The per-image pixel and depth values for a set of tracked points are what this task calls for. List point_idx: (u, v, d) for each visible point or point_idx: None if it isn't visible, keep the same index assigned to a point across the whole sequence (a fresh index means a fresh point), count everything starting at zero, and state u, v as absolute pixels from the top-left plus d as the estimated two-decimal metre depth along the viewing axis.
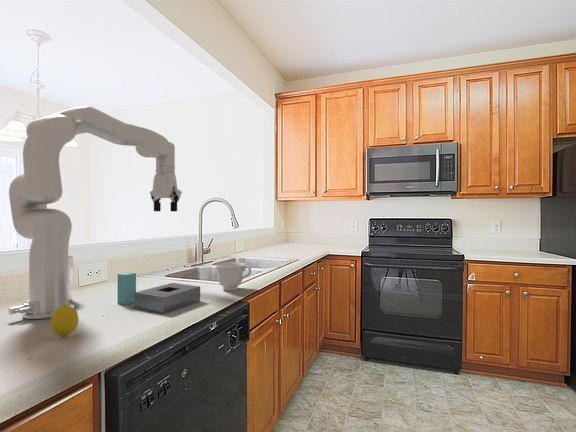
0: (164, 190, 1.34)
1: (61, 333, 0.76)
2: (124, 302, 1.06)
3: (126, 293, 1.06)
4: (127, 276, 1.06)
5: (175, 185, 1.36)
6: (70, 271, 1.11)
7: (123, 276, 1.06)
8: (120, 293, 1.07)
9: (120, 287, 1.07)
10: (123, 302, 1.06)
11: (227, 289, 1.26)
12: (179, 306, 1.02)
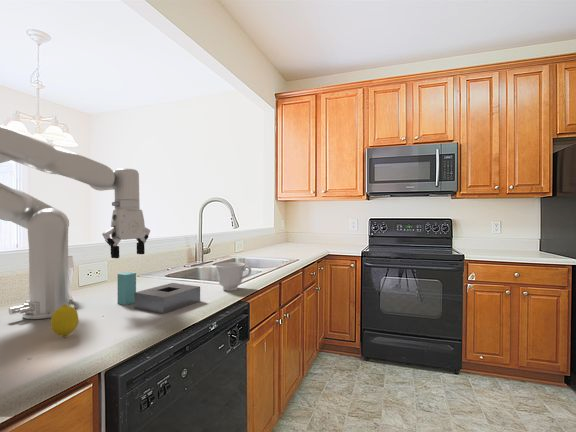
0: (139, 230, 1.09)
1: (61, 333, 0.76)
2: (124, 302, 1.06)
3: (126, 293, 1.06)
4: (127, 276, 1.06)
5: None
6: (70, 271, 1.11)
7: (123, 276, 1.06)
8: (120, 293, 1.07)
9: (120, 287, 1.07)
10: (123, 302, 1.06)
11: (227, 289, 1.26)
12: (179, 306, 1.02)
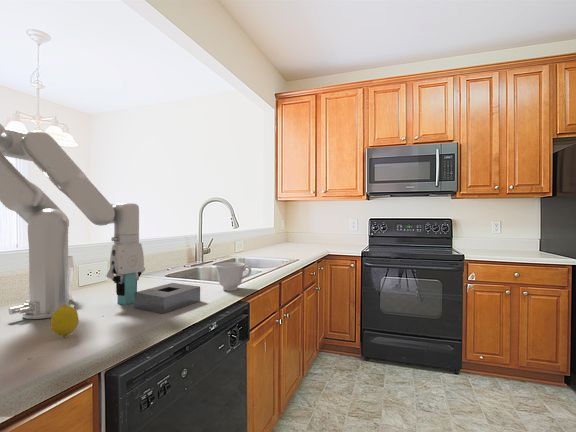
0: (138, 264, 1.09)
1: (61, 333, 0.76)
2: (124, 302, 1.06)
3: (126, 293, 1.06)
4: (127, 276, 1.06)
5: None
6: (70, 271, 1.11)
7: None
8: None
9: None
10: (123, 302, 1.06)
11: (227, 289, 1.26)
12: (179, 306, 1.02)
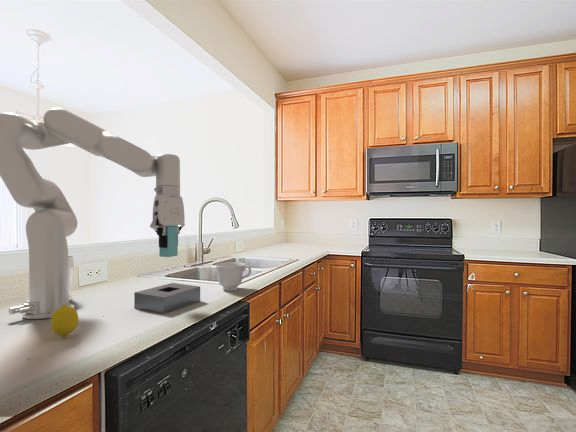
0: (179, 217, 1.07)
1: (61, 333, 0.76)
2: (167, 254, 1.04)
3: (169, 245, 1.04)
4: (169, 228, 1.05)
5: None
6: (70, 271, 1.11)
7: None
8: None
9: None
10: (166, 254, 1.04)
11: (227, 289, 1.26)
12: (179, 306, 1.02)
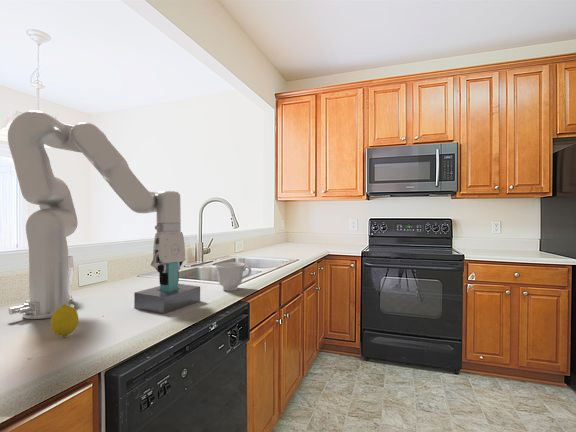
0: (180, 253, 1.08)
1: (61, 333, 0.76)
2: (167, 291, 1.04)
3: (169, 282, 1.04)
4: (170, 265, 1.05)
5: None
6: (70, 271, 1.11)
7: None
8: None
9: None
10: (166, 291, 1.05)
11: (227, 289, 1.26)
12: (179, 306, 1.02)
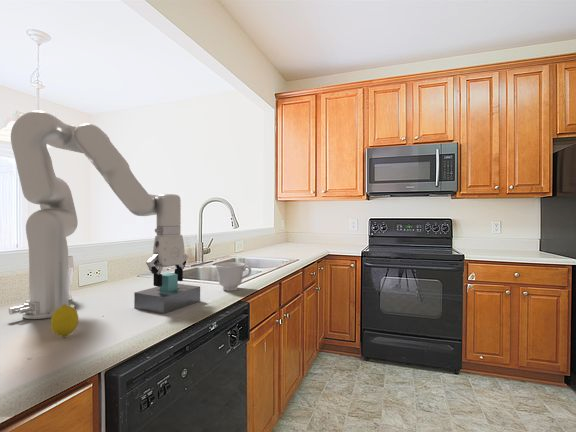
0: (180, 256, 1.08)
1: (61, 333, 0.76)
2: None
3: None
4: (170, 277, 1.05)
5: None
6: (70, 271, 1.11)
7: (166, 277, 1.05)
8: None
9: (163, 288, 1.05)
10: None
11: (227, 289, 1.26)
12: (179, 306, 1.02)
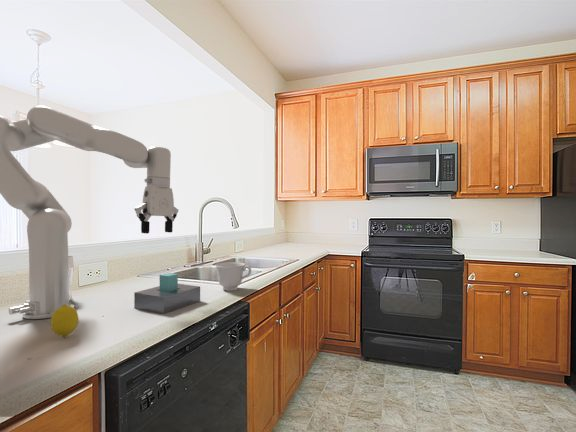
0: (168, 208, 1.12)
1: (61, 333, 0.76)
2: None
3: None
4: (170, 277, 1.05)
5: None
6: (70, 271, 1.11)
7: (166, 277, 1.05)
8: None
9: (163, 288, 1.05)
10: None
11: (227, 289, 1.26)
12: (179, 306, 1.02)
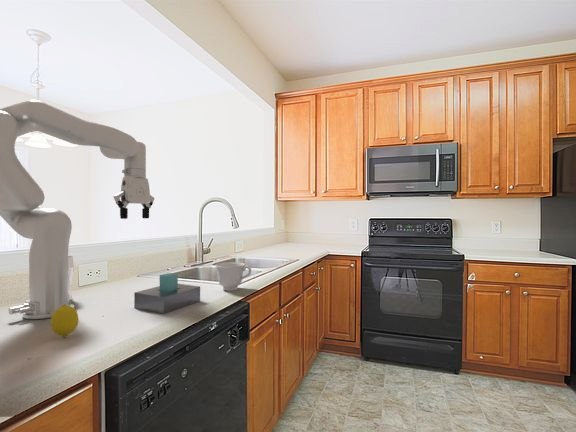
0: (145, 196, 1.25)
1: (61, 333, 0.76)
2: None
3: None
4: (170, 277, 1.05)
5: None
6: (70, 271, 1.11)
7: (166, 277, 1.05)
8: None
9: (163, 288, 1.05)
10: None
11: (227, 289, 1.26)
12: (179, 306, 1.02)
